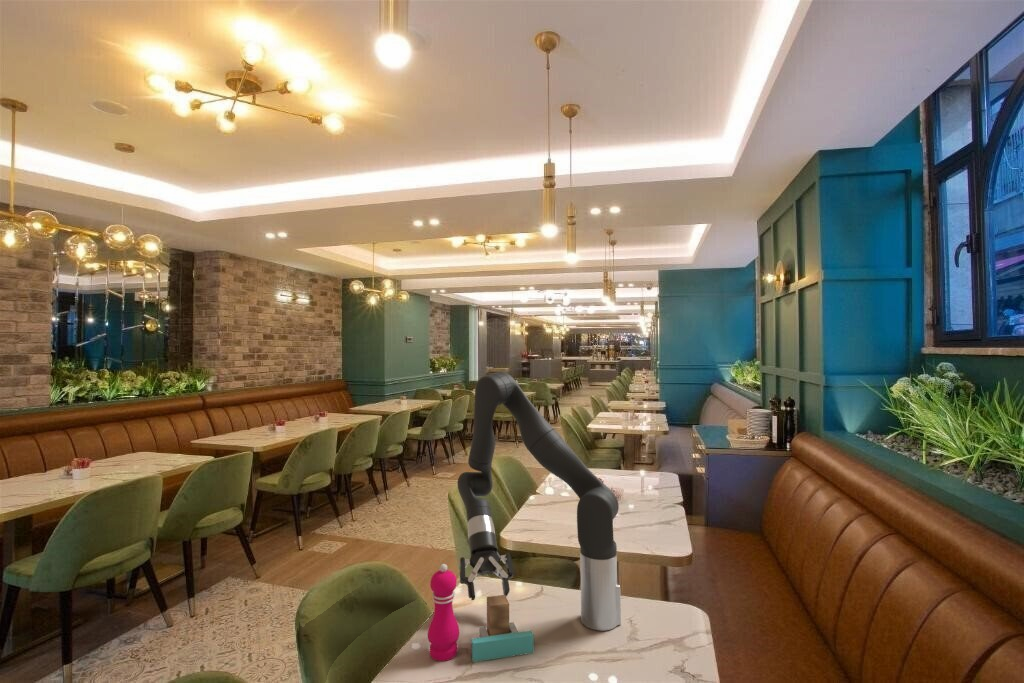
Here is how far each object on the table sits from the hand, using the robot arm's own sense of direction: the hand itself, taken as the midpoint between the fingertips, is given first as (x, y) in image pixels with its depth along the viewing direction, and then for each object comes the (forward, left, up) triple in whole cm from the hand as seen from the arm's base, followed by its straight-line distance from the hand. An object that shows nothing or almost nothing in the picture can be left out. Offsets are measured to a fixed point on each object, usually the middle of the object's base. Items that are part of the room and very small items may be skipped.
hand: (489, 597), depth 126 cm
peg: (0, +10, -6) cm, 11 cm away
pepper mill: (+13, +10, -6) cm, 18 cm away
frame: (0, +10, -6) cm, 12 cm away
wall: (0, +14, -6) cm, 16 cm away
